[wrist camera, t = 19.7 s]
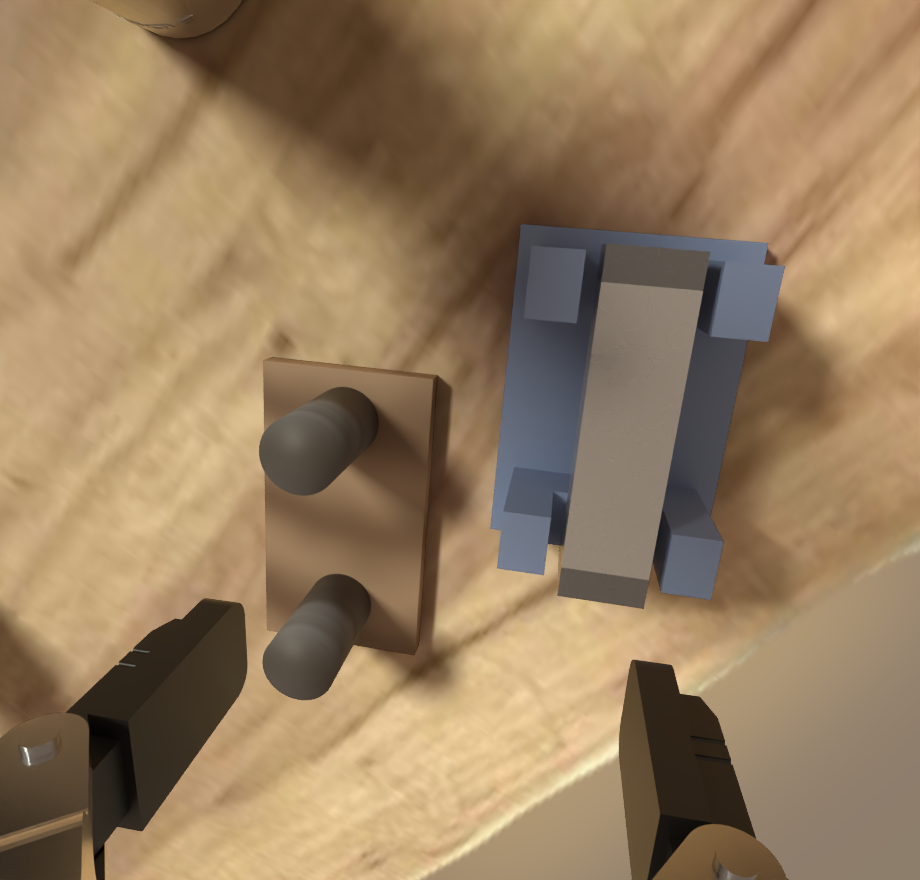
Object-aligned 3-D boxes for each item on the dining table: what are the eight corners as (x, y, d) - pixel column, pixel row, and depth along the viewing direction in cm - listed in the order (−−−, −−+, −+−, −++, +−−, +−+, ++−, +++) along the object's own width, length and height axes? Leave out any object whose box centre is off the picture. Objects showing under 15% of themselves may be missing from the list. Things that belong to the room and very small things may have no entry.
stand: (272, 357, 38) (198, 384, 30) (437, 375, 37) (403, 408, 29) (274, 620, 43) (212, 698, 36) (418, 644, 42) (385, 731, 34)
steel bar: (601, 244, 29) (606, 243, 26) (691, 251, 29) (710, 251, 25) (558, 557, 34) (557, 595, 30) (635, 568, 34) (643, 608, 30)
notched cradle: (522, 224, 34) (509, 218, 26) (761, 243, 32) (818, 241, 25) (492, 520, 39) (475, 583, 31) (697, 548, 37) (728, 622, 30)
